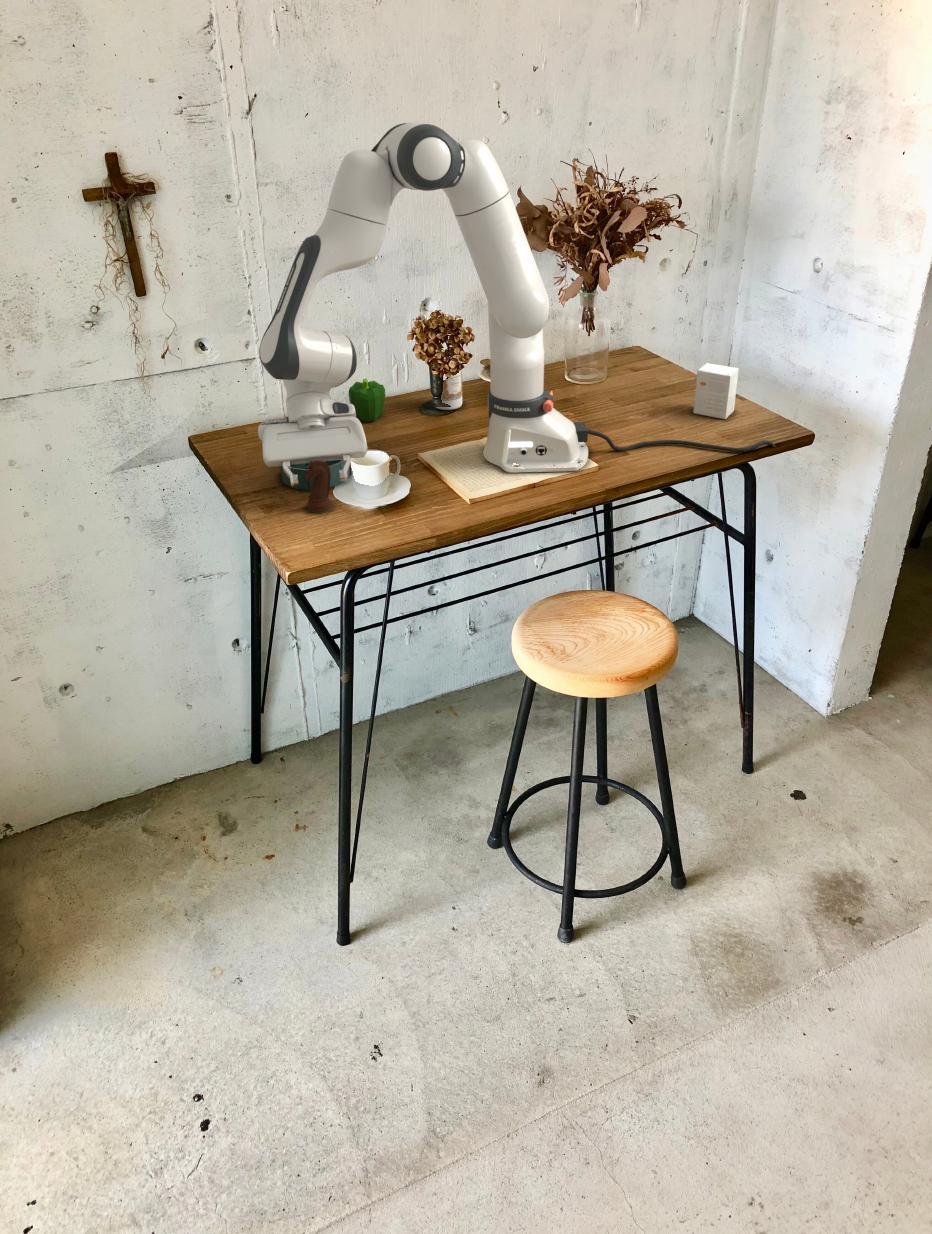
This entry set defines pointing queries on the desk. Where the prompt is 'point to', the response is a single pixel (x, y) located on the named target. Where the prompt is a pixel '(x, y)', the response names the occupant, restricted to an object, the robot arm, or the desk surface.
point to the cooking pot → (306, 485)
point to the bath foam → (452, 392)
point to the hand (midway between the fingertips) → (319, 482)
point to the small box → (715, 390)
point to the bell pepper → (367, 399)
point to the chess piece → (319, 487)
